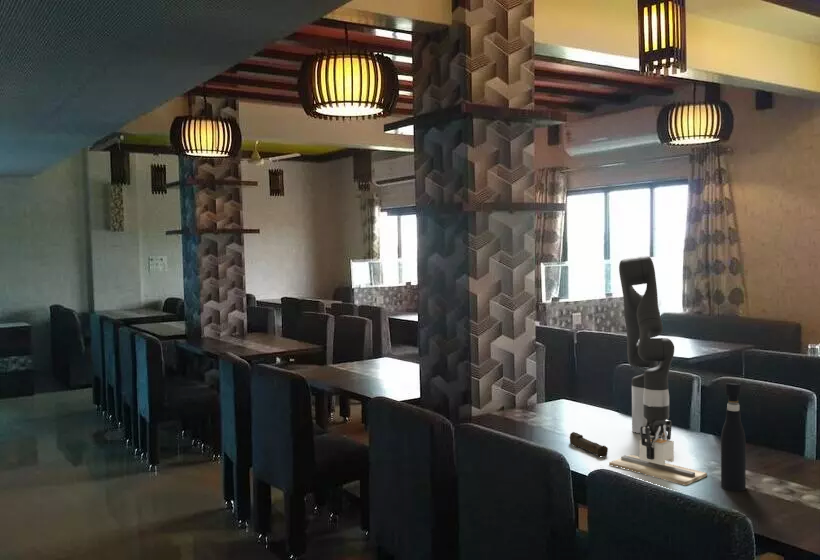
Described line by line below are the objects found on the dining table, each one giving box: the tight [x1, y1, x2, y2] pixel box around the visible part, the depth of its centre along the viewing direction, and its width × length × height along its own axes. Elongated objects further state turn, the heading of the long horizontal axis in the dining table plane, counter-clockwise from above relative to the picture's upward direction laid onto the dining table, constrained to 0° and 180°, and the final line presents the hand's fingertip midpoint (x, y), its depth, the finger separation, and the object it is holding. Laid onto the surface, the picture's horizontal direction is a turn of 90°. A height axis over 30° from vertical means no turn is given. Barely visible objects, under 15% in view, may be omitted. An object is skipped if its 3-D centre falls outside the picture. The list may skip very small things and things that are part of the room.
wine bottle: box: [720, 381, 747, 492], centre depth 203 cm, size 6×6×30 cm
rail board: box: [608, 454, 708, 486], centre depth 220 cm, size 12×26×2 cm, turn 40°
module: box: [638, 438, 675, 465], centre depth 220 cm, size 6×8×6 cm
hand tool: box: [569, 431, 609, 458], centre depth 244 cm, size 19×4×5 cm, turn 19°
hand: (656, 456), depth 220 cm, fingers closed on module, 6 cm apart
